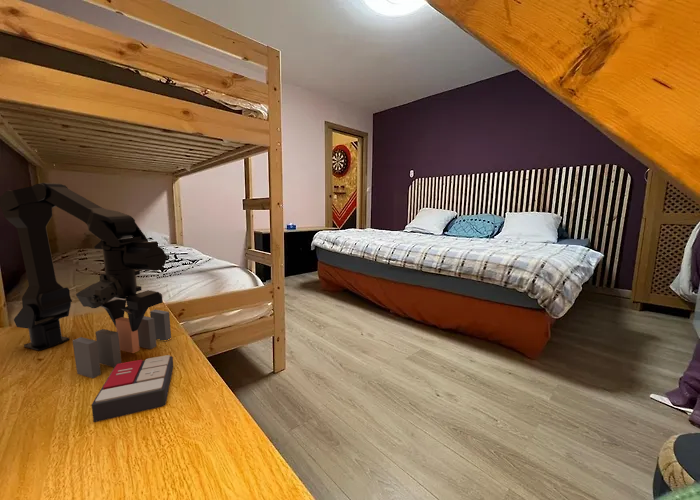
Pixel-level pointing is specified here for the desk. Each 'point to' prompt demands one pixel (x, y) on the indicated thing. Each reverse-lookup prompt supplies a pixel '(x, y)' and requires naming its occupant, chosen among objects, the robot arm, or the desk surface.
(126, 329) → the domino
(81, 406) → the desk surface
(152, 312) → the domino
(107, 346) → the domino
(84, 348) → the domino
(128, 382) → the calculator
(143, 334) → the domino
